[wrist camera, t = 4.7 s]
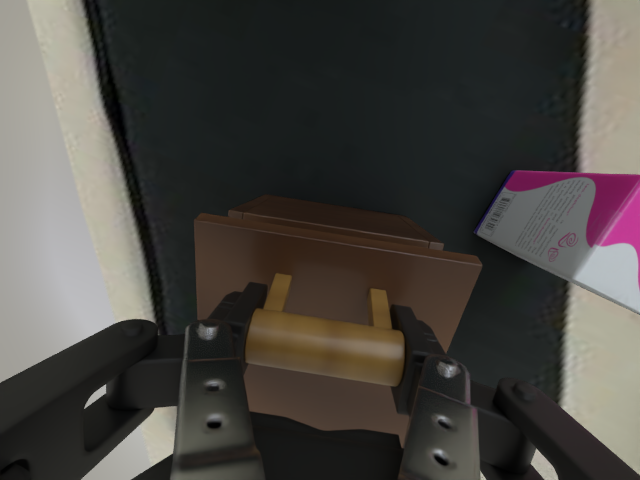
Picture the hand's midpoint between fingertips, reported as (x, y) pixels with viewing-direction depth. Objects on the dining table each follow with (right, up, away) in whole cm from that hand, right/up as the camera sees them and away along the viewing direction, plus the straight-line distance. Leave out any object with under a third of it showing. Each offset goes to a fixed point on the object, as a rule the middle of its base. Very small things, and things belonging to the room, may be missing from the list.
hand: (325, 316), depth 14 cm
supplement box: (+16, +5, +14) cm, 22 cm away
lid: (-1, -3, +4) cm, 5 cm away
